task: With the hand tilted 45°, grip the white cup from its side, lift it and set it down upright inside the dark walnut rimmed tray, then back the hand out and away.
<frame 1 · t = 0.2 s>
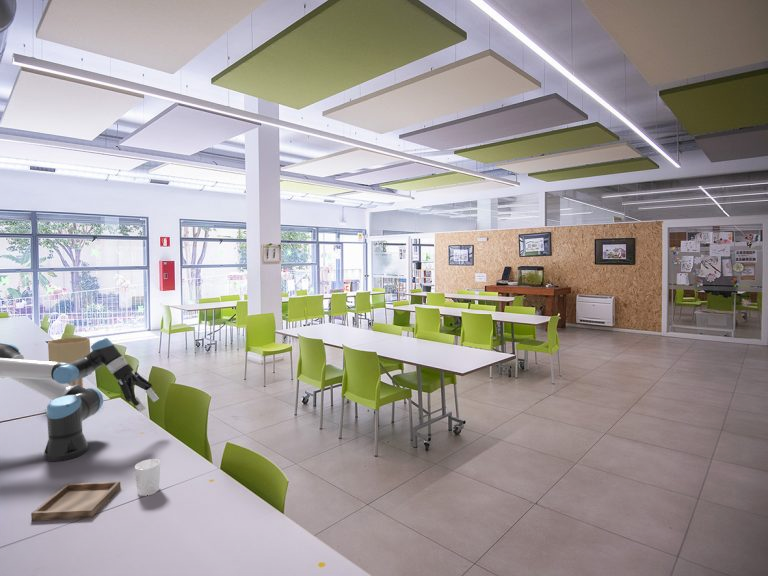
hand: (150, 405, 199), 16 cm above the table, tool tilted 35°, fingers open, 13 cm apart
white cup: (148, 491, 155), on the table
desk lamp: (72, 400, 252), on the table
walnut tray: (79, 503, 147), on the table
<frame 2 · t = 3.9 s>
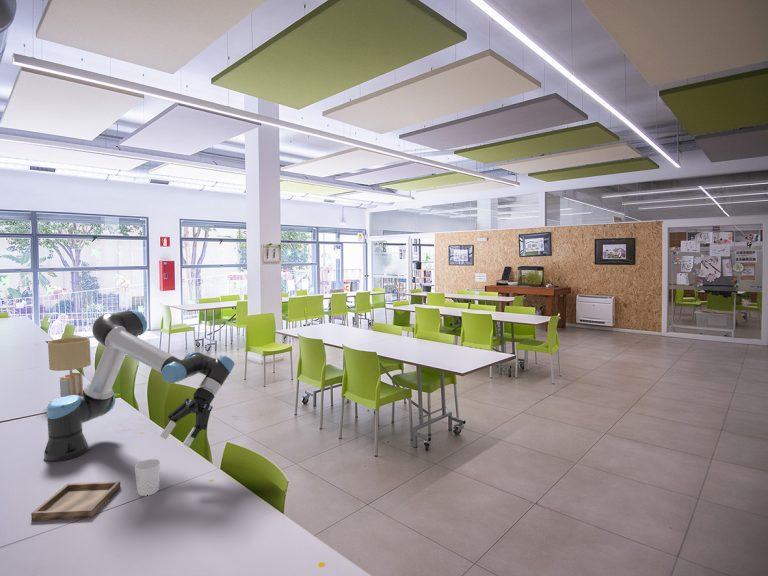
hand: (174, 441, 163), 14 cm above the table, tool tilted 45°, fingers open, 13 cm apart
nothing on the table moved.
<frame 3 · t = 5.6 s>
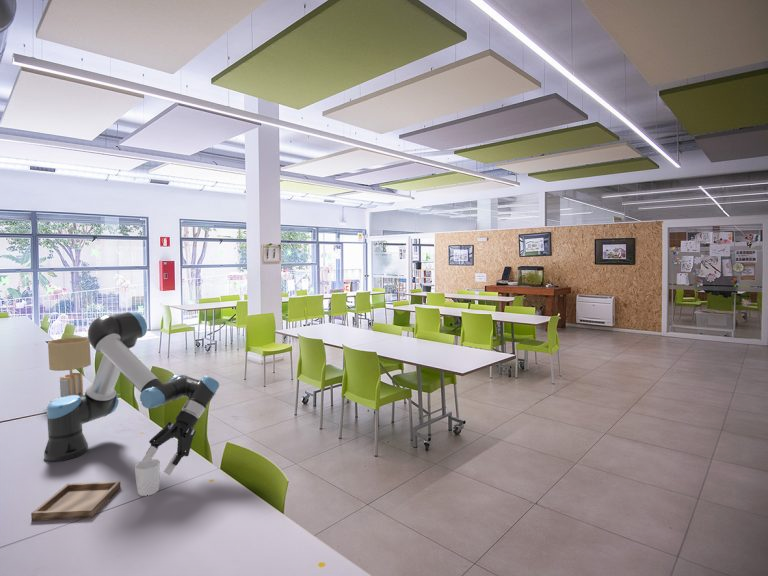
hand: (154, 468, 156), 8 cm above the table, tool tilted 45°, fingers open, 13 cm apart
nothing on the table moved.
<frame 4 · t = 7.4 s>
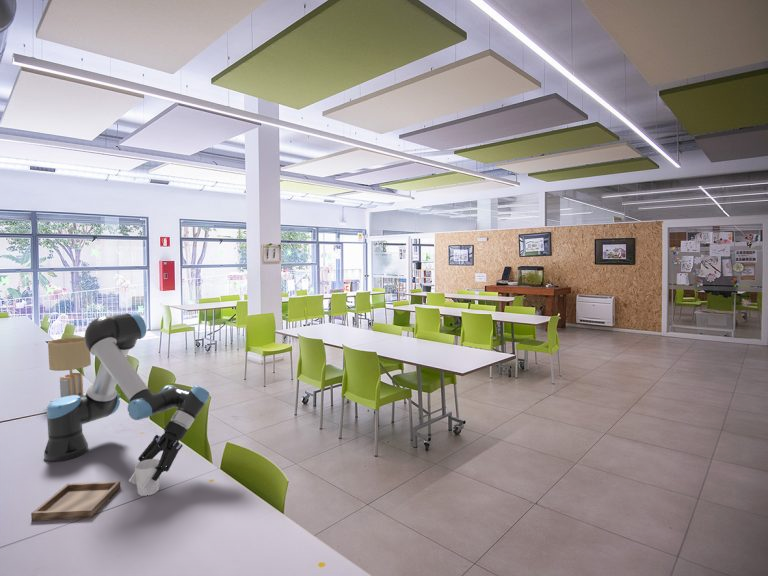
hand: (138, 485, 152), 4 cm above the table, tool tilted 45°, fingers closed on white cup, 8 cm apart
white cup: (148, 491, 155), on the table, touching gripper
everything else where it was.
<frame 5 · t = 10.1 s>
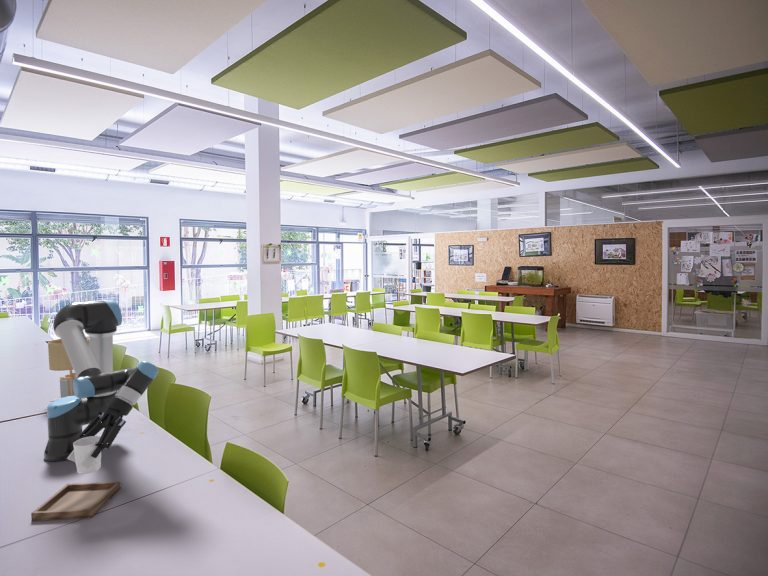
hand: (77, 463, 144), 15 cm above the table, tool tilted 45°, fingers closed on white cup, 8 cm apart
white cup: (89, 469, 147), point 11 cm above the table, touching gripper
everything else where it was.
when the fingers open (6 cm above the table, at t = 12.6 s): white cup drops 2 cm, resting on walnut tray.
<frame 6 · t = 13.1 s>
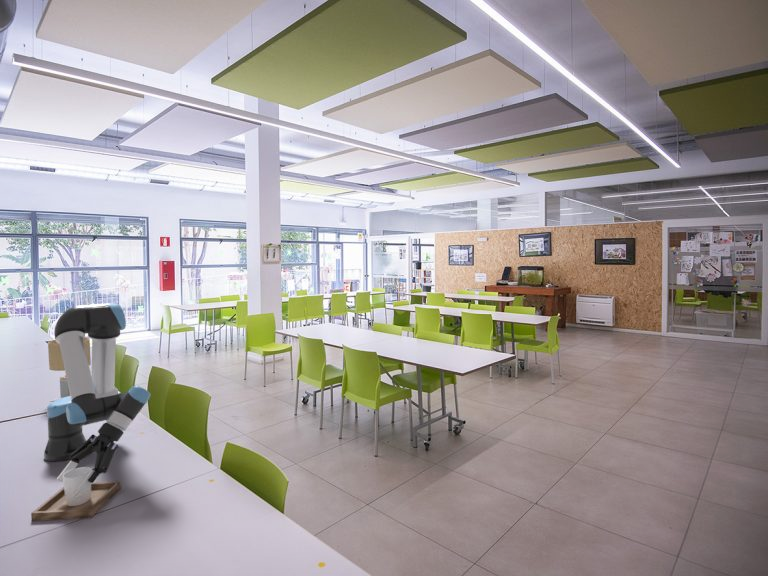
hand: (70, 486, 145), 7 cm above the table, tool tilted 45°, fingers open, 13 cm apart
white cup: (78, 501, 147), point 1 cm above the table, touching walnut tray
everything else where it was.
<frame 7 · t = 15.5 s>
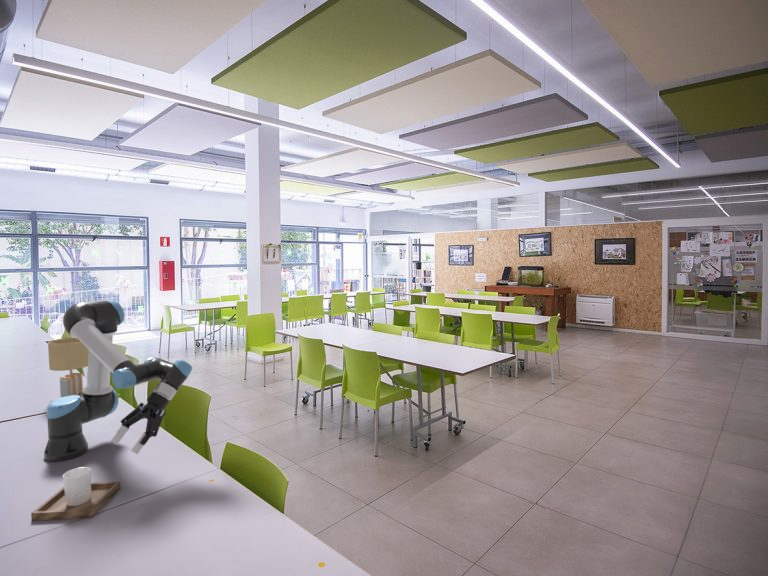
hand: (123, 447, 159), 14 cm above the table, tool tilted 45°, fingers open, 13 cm apart
nothing on the table moved.
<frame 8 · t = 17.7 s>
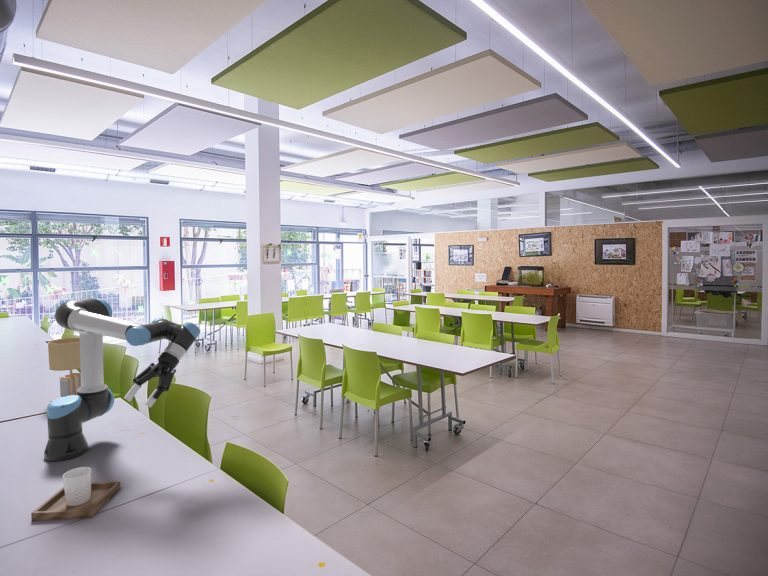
hand: (136, 402, 166), 28 cm above the table, tool tilted 45°, fingers open, 13 cm apart
nothing on the table moved.
at the end: white cup inside the target area on the walnut tray (0.1 cm from its centre), point 0.6 cm above the walnut tray's base; white cup tilted 0°; the gripper is holding nothing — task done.
